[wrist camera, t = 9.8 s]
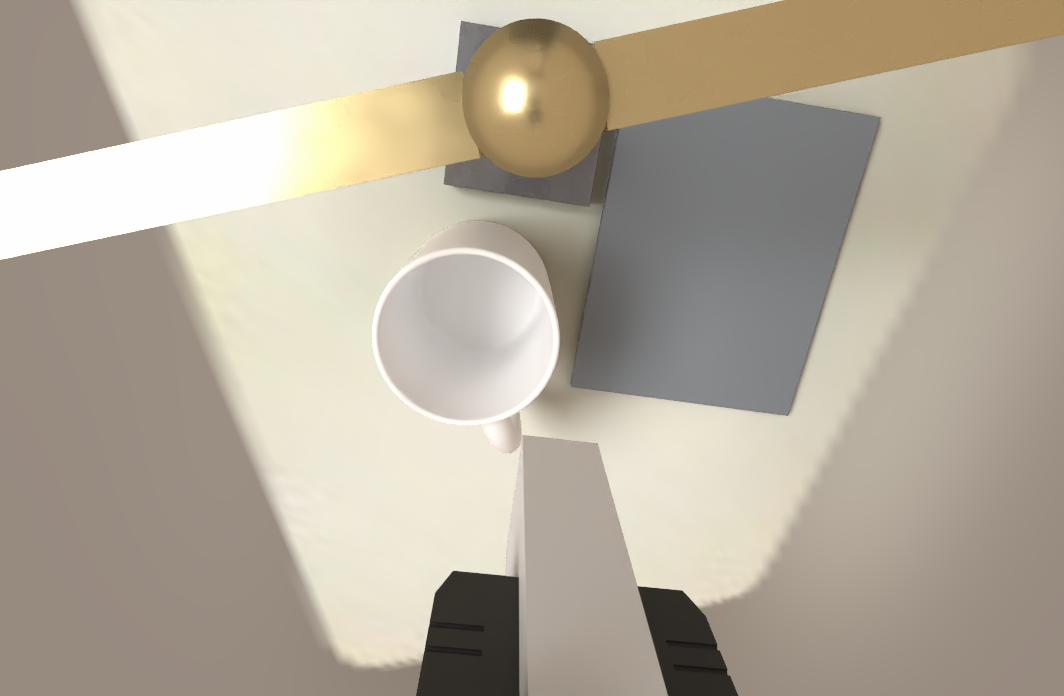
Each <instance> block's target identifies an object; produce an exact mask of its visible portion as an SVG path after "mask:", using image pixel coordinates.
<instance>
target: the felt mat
mask: <svg viewBox="0 0 1064 696" xmlns="http://www.w3.org/2000/svg"><path fill="white" fill-rule="evenodd" d="M880 118H881V117H875V116H869V115H864V114H858V113H852V112H846V111H840V110H834V109H829V108H823V107H817V106H811V105H805V104H799V103H794V102H788V101H782V100H776V99H770V98H760V99H756V100H751V101H746V102H742V103H737V104H732V105H727V106H723V107H718V108H713V109H709V110H704V111H699V112H694V113H690V114H685V115H680V116H675V117H671V118H666V119H661V120H657V121H652V122H647V123H642V124H638V125H633V126H628V127H624V128H619V129H618V131H617V136H616V141H615V147H614V152H613V158H612V163H611V168H610V174H609V179H608V185H607V190H606V195H605V201H604V206H603V211H602V217H601V222H600V228H599V233H598V238H597V244H596V249H595V254H594V260H593V265H592V271H591V276H590V281H589V287H588V292H587V297H586V303H585V308H584V314H583V319H582V324H581V330H580V335H579V340H578V346H577V351H576V357H575V362H574V367H573V373H572V378H571V387H578V388H585V389H593V390H600V391H608V392H615V393H622V394H630V395H637V396H645V397H652V398H659V399H667V400H674V401H682V402H689V403H697V404H704V405H711V406H719V407H726V408H734V409H741V410H749V411H756V412H763V413H771V414H778V415H786V416H788V414H789V411H790V407H791V404H792V401H793V398H794V395H795V391H796V388H797V385H798V382H799V378H800V375H801V372H802V369H803V366H804V362H805V359H806V356H807V353H808V349H809V346H810V343H811V340H812V337H813V333H814V330H815V327H816V324H817V321H818V317H819V314H820V311H821V308H822V304H823V301H824V298H825V295H826V292H827V288H828V285H829V282H830V279H831V276H832V272H833V269H834V266H835V263H836V259H837V256H838V253H839V250H840V247H841V243H842V240H843V237H844V234H845V230H846V227H847V224H848V221H849V218H850V214H851V211H852V208H853V205H854V202H855V198H856V195H857V192H858V189H859V185H860V182H861V179H862V176H863V173H864V169H865V166H866V163H867V160H868V157H869V153H870V150H871V147H872V144H873V140H874V137H875V134H876V131H877V128H878V124H879V121H880Z"/></svg>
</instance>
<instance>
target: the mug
mask: <svg viewBox="0 0 1064 696" xmlns="http://www.w3.org/2000/svg"><path fill="white" fill-rule="evenodd" d="M372 344H373V351H374V355H375V359H376V362H377V365H378V367H379V369H380V372H381V374H382V376H383V377H384V379H385V381H386V383H387V384H388V385H389V387H390V388H391V389H392V391H393V392H394V393H395V394H396V395H397V396H398V397H399V398H400V399H401V400H402V401H403V402H404V403H405V404H407V405H408V406H409V407H410V408H412V409H413V410H415V411H417V412H418V413H420V414H422V415H424V416H426V417H428V418H430V419H432V420H435V421H439V422H442V423H446V424H451V425H457V426H480V425H482V428H483V430H484V432H485V434H486V436H487V438H488V440H489V442H490V443H491V445H492V446H493V447H494V448H495V449H496V450H497V451H499V452H501V453H512V452H514V451H516V449H517V448H518V447H519V446H520V443H521V438H522V432H521V421H520V414H519V411H521V410H522V409H524V408H525V407H526V406H528V405H529V404H530V403H531V402H532V401H533V400H534V399H535V398H536V397H537V396H538V395H539V394H540V393H541V392H542V390H543V389H544V388H545V386H546V385H547V383H548V381H549V380H550V378H551V376H552V374H553V371H554V369H555V367H556V363H557V359H558V356H559V348H560V329H559V323H558V317H557V313H556V308H555V304H554V300H553V295H552V291H551V286H550V282H549V278H548V274H547V271H546V268H545V266H544V264H543V262H542V259H541V258H540V256H539V255H538V253H537V251H536V250H535V249H534V248H533V246H532V245H531V244H530V243H529V242H528V241H527V240H526V239H525V238H524V237H522V236H521V235H520V234H518V233H517V232H515V231H513V230H512V229H510V228H508V227H506V226H503V225H500V224H497V223H493V222H488V221H467V222H461V223H458V224H455V225H451V226H449V227H447V228H445V229H443V230H441V231H440V232H438V233H436V234H435V235H433V236H432V237H431V238H430V239H429V240H428V241H427V242H425V243H424V245H423V246H422V247H421V248H420V249H419V250H418V251H417V252H416V253H415V254H414V256H413V257H412V258H411V259H410V260H409V261H408V262H407V263H406V264H405V265H404V267H403V268H402V269H401V270H400V271H399V272H398V273H397V274H396V275H395V277H394V278H393V279H392V280H391V281H390V282H389V284H388V285H387V287H386V288H385V290H384V291H383V293H382V295H381V297H380V299H379V301H378V304H377V307H376V310H375V313H374V318H373V324H372Z"/></svg>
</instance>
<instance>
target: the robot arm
mask: <svg viewBox="0 0 1064 696" xmlns="http://www.w3.org/2000/svg"><path fill="white" fill-rule="evenodd" d="M416 696H738V694H737V692H736V689H735V687H734V684H733V682H732V680H731V677H730V676H728V675H727V667H726V665H725V662H724V660H723V658H722V655H721V653H720V651H718V650H717V643H716V640H715V638H714V636H713V633H712V631H711V628H710V626H709V623H708V621H707V618H706V616H705V615H704V614H703V613H702V612H701V611H700V609H699V608H698V607H697V606H696V605H695V604H694V603H693V602H692V601H691V600H690V598H689V597H688V596H687V595H686V594H685V593H684V592H683V591H680V590H670V589H659V588H649V587H639V586H637V583H636V580H635V576H634V572H633V569H632V565H631V562H630V558H629V555H628V551H627V547H626V544H625V540H624V537H623V533H622V530H621V526H620V522H619V519H618V515H617V512H616V508H615V504H614V501H613V497H612V494H611V490H610V487H609V483H608V479H607V476H606V472H605V469H604V465H603V462H602V458H601V454H600V451H599V447H598V444H597V443H589V442H580V441H571V440H562V439H553V438H544V437H535V436H526V435H523V436H522V443H521V450H520V457H519V464H518V471H517V478H516V485H515V492H514V499H513V506H512V514H511V521H510V528H509V535H508V542H507V549H506V571H505V576H501V575H491V574H480V573H470V572H460V571H453V572H452V573H451V574H450V576H449V577H448V578H447V579H446V580H445V582H444V583H443V584H442V585H441V587H440V588H439V589H438V590H437V591H436V593H435V597H434V602H433V608H432V613H431V618H430V625H429V629H428V635H427V640H426V646H425V651H424V656H423V662H422V668H421V672H420V678H419V683H418V689H417V694H416Z"/></svg>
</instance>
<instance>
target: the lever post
mask: <svg viewBox="0 0 1064 696" xmlns="http://www.w3.org/2000/svg"><path fill="white" fill-rule="evenodd" d="M499 29H500V28H498V27H493V26H487V25H481V24H475V23H470V22H464V21H461V26H460V36H459V46H458V55H457V65H456V72H459V71H462V73H463V74H464V75H465V74H466V71H467V68H468V65H469V63H470V61H471V59H472V57H473V55H474V54H475V52H476V51H477V49H478V48H479V47H480V46H481V44H482V43H483V42H484V41H485V40H486V39H487V38H488V37H489V36H490V35H492V34H493V33H494V32H496V31H497V30H499ZM589 44H590V43H589ZM590 45H591V46H592V45H593V44H590ZM601 138H602V134H601V136H600V138H599V140H598V141H597V143H596V145H595V146H594V147H593V149H592V150H591V151H590V153H589V154H588V155H587V156H586V157H585V158H584V159H583V160H581V161H580V162H579V163H578V164H576V165H575V166H573V167H571V168H570V169H568V170H566V171H564V172H561V173H559V174H556V175H552V176H547V177H524V176H519V175H516V174H512V173H510V172H508V171H505V170H503V169H502V168H500V167H498V166H497V165H495V164H494V163H493V162H491V161H490V160H489V159H488V158H487V157H486V156H485V155H484V154H483V155H484V156H483V157H481V158H477V159H472V160H468V161H463V162H458V163H453V164H449V165H446V169H445V179H444V184H446V185H453V186H459V187H466V188H472V189H478V190H485V191H491V192H498V193H504V194H511V195H517V196H523V197H530V198H536V199H543V200H549V201H556V202H562V203H568V204H575V205H581V206H588V207H589V205H590V199H591V193H592V188H593V182H594V177H595V171H596V166H597V160H598V154H599V149H600V143H601Z"/></svg>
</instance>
